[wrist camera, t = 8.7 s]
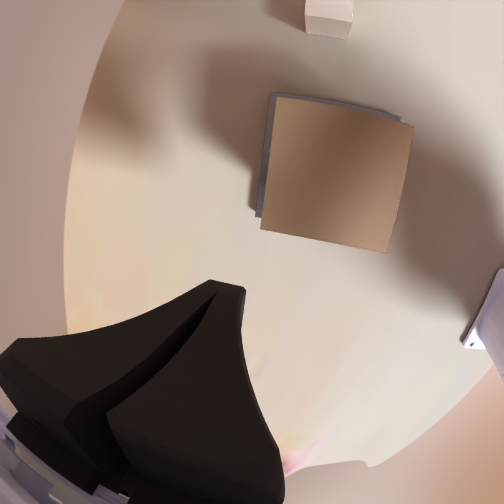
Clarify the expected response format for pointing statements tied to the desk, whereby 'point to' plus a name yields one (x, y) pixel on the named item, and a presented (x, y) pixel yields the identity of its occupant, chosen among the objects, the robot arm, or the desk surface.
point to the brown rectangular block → (335, 174)
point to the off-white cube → (329, 17)
